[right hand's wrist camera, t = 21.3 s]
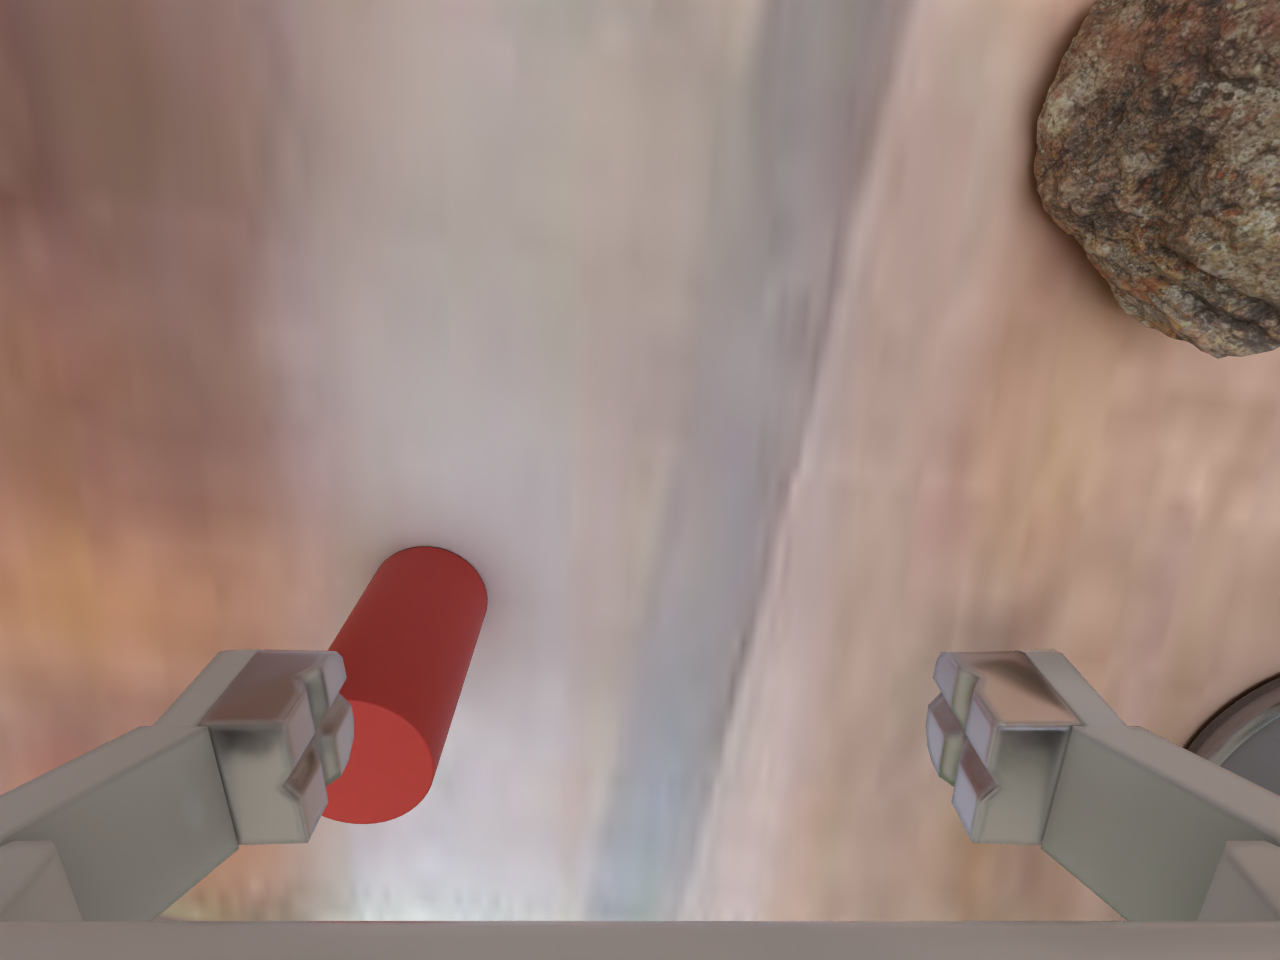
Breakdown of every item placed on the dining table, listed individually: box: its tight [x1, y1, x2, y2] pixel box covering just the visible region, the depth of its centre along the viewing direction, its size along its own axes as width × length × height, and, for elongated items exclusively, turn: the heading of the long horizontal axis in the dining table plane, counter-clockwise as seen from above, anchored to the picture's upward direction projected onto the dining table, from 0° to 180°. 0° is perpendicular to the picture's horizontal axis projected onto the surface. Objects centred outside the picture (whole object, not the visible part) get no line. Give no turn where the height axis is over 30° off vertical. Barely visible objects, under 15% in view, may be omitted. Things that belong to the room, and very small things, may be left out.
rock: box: [1034, 0, 1280, 358], centre depth 24 cm, size 14×9×10 cm
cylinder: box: [322, 547, 487, 824], centre depth 30 cm, size 5×5×10 cm
